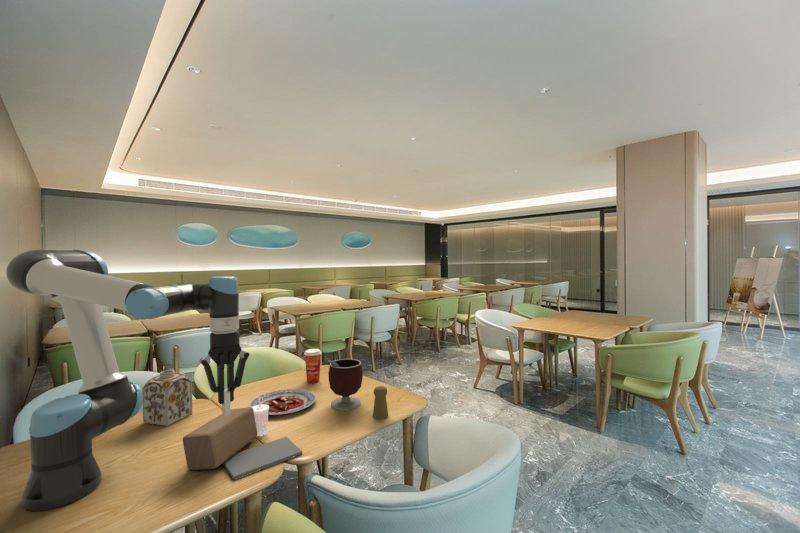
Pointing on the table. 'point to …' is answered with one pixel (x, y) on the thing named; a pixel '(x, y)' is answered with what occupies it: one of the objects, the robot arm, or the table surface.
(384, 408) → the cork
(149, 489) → the table surface
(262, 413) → the beverage cup
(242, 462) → the mat
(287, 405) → the ceramic plate
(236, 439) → the block
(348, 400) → the mate gourd
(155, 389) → the decorative jar
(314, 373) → the coffee cup
